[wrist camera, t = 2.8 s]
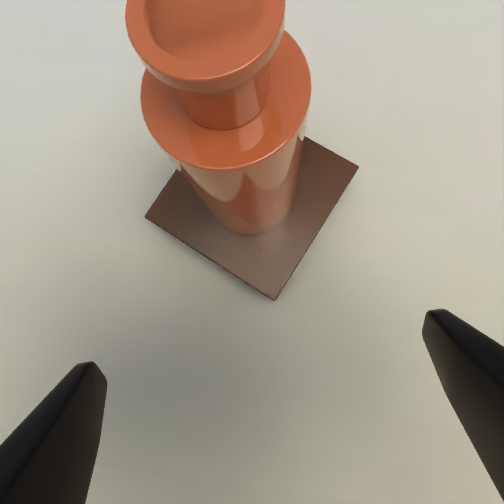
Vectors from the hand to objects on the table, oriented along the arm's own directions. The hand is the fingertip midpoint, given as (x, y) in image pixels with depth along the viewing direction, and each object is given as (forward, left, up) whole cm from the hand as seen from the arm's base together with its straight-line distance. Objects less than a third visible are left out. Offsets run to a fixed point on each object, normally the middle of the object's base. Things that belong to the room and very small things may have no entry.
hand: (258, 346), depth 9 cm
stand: (+5, -6, -13) cm, 16 cm away
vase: (+5, -6, -11) cm, 14 cm away
